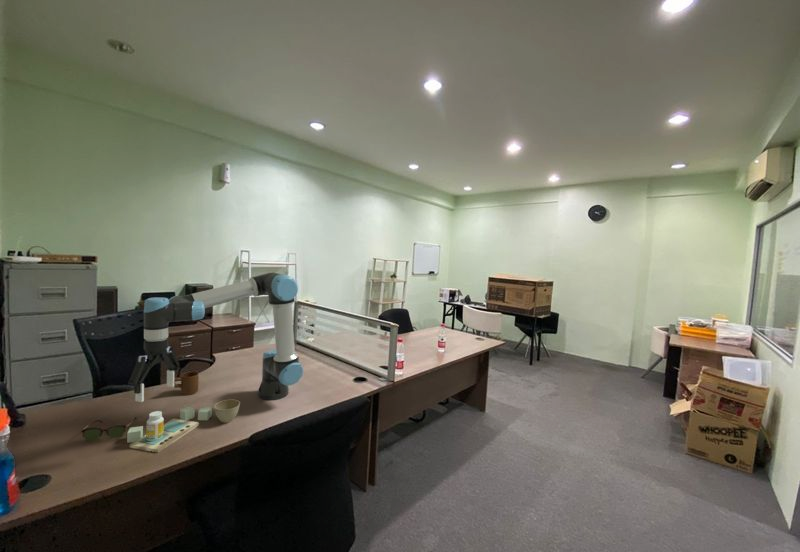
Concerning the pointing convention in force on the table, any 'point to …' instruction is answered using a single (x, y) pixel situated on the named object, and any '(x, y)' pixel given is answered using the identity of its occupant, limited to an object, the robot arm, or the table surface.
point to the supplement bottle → (155, 426)
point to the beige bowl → (227, 410)
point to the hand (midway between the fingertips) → (155, 393)
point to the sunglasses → (97, 432)
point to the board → (166, 435)
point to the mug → (188, 383)
